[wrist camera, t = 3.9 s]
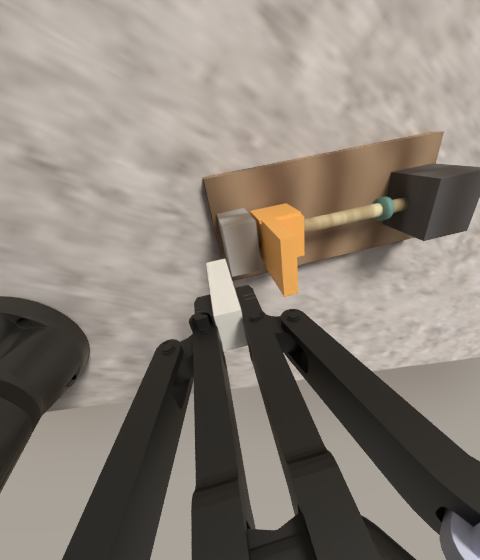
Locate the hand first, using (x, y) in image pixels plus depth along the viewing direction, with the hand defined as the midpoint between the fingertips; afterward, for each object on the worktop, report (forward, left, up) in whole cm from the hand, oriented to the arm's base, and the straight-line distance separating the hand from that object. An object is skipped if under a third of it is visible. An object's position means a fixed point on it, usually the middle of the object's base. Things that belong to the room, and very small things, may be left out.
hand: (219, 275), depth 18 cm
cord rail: (+14, 0, -10) cm, 17 cm away
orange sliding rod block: (+7, 0, -8) cm, 11 cm away
